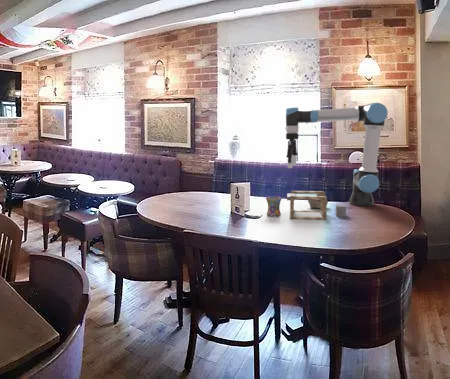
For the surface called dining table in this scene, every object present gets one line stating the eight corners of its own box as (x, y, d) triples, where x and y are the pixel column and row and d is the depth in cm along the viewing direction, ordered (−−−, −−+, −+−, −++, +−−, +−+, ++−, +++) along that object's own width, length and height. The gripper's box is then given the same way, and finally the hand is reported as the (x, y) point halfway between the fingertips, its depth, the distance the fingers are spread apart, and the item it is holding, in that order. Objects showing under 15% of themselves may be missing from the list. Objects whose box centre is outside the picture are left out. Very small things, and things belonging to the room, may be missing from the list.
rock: (325, 195, 262) (330, 193, 255) (323, 211, 261) (328, 209, 253) (305, 191, 262) (309, 189, 254) (303, 207, 260) (307, 205, 252)
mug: (283, 217, 234) (283, 199, 232) (267, 217, 234) (267, 199, 232) (279, 212, 246) (279, 195, 244) (264, 212, 246) (264, 195, 244)
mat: (319, 213, 241) (319, 212, 241) (321, 218, 229) (321, 217, 229) (294, 212, 244) (294, 211, 244) (294, 217, 231) (294, 216, 231)
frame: (323, 212, 243) (324, 191, 241) (326, 219, 226) (326, 197, 224) (290, 211, 247) (290, 190, 245) (290, 218, 229) (290, 196, 227)
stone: (344, 214, 237) (344, 204, 236) (345, 216, 232) (346, 206, 231) (335, 214, 238) (335, 204, 237) (336, 216, 233) (336, 206, 232)
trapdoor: (316, 196, 240) (316, 193, 240) (317, 201, 227) (317, 197, 227) (287, 196, 243) (287, 192, 243) (287, 200, 230) (287, 197, 230)
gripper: (290, 132, 262) (289, 164, 266) (281, 133, 239) (282, 169, 243) (301, 131, 260) (301, 164, 263) (294, 133, 237) (294, 169, 240)
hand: (292, 166), depth 253 cm, fingers open, 13 cm apart
